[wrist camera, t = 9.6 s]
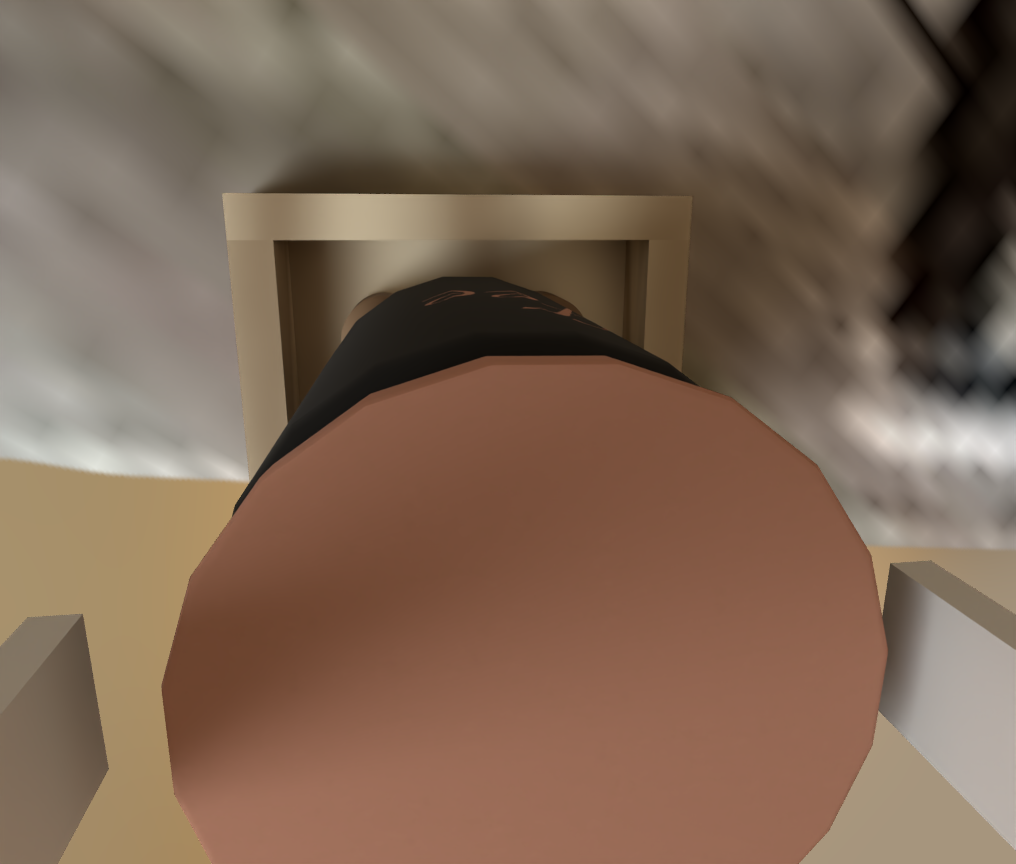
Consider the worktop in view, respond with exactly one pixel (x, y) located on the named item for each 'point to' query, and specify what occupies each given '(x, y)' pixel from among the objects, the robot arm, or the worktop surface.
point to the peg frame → (436, 273)
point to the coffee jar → (522, 612)
